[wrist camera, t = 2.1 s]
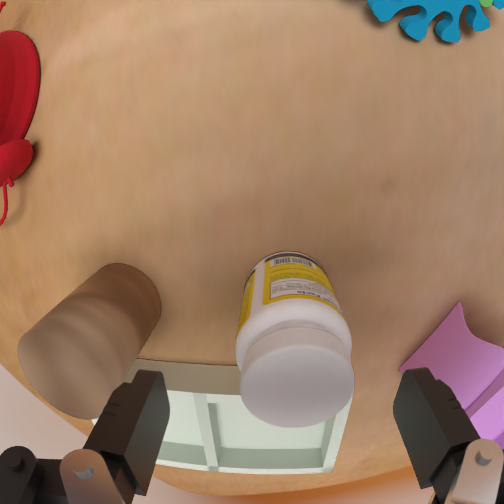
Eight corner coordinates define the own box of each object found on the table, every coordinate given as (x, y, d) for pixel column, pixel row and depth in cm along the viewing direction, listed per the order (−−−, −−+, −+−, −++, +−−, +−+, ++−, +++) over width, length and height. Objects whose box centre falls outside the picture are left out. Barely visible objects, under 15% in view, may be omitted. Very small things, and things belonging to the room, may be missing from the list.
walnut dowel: (155, 263, 18) (89, 339, 10) (166, 337, 20) (121, 428, 12) (84, 262, 18) (4, 324, 11) (99, 330, 20) (40, 406, 12)
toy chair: (464, 285, 17) (611, 444, 3) (512, 338, 19) (611, 460, 4) (383, 376, 20) (449, 570, 6) (445, 410, 21) (507, 549, 7)
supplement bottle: (278, 339, 19) (279, 449, 11) (227, 282, 18) (197, 382, 10) (344, 295, 18) (387, 395, 10) (297, 232, 17) (319, 308, 9)
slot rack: (345, 364, 20) (353, 393, 17) (328, 445, 22) (331, 471, 20) (89, 352, 21) (72, 374, 18) (119, 431, 23) (108, 453, 21)
